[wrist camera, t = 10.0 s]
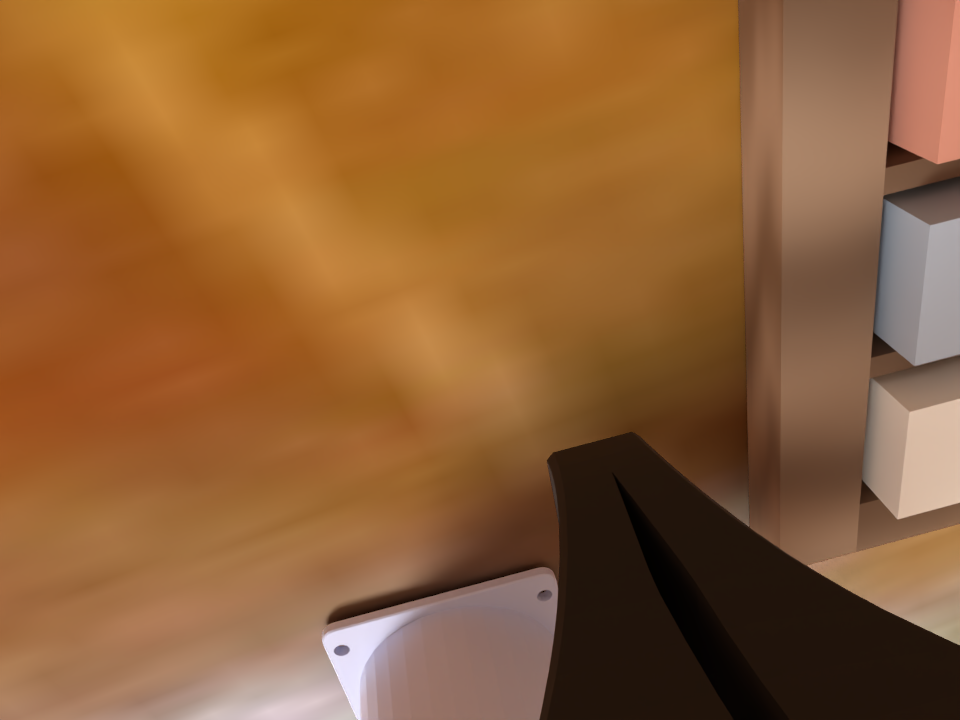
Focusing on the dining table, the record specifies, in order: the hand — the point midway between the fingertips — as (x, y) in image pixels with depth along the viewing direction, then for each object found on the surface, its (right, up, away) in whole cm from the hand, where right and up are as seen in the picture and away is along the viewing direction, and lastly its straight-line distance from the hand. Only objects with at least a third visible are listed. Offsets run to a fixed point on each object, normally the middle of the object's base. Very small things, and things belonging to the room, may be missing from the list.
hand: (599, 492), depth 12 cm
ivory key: (+12, +1, +13) cm, 18 cm away
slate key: (+11, +6, +10) cm, 16 cm away
